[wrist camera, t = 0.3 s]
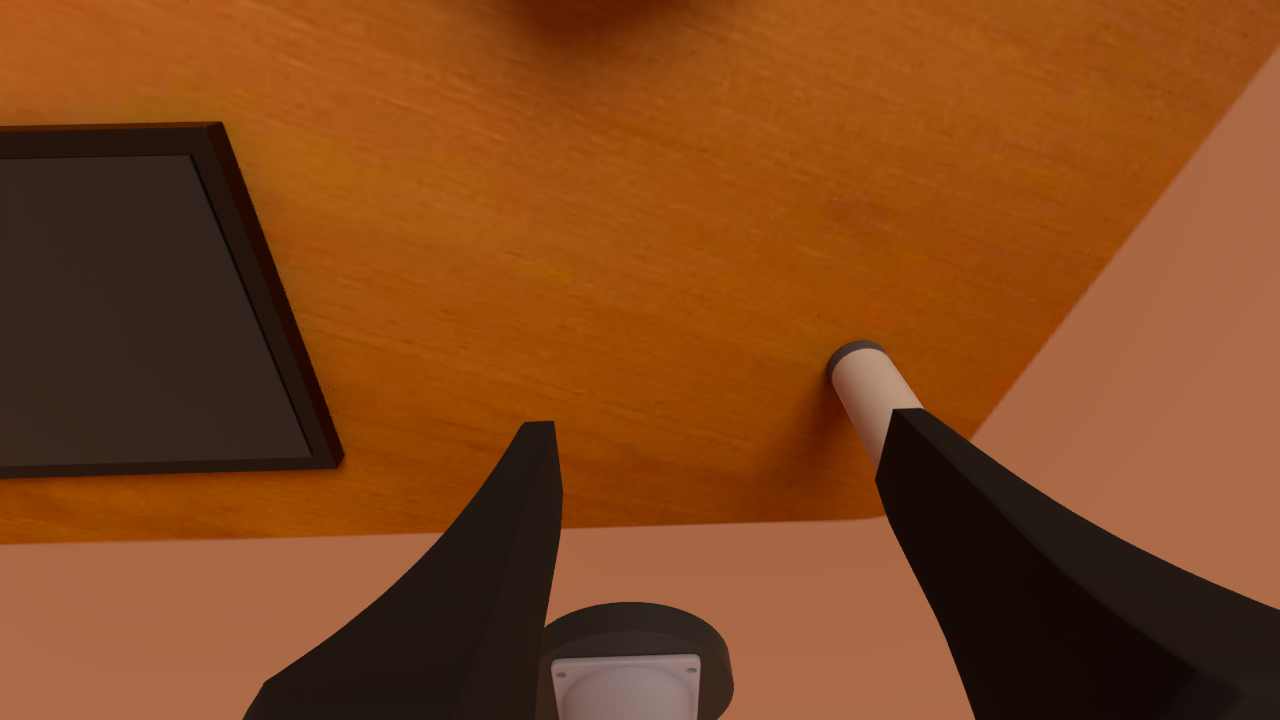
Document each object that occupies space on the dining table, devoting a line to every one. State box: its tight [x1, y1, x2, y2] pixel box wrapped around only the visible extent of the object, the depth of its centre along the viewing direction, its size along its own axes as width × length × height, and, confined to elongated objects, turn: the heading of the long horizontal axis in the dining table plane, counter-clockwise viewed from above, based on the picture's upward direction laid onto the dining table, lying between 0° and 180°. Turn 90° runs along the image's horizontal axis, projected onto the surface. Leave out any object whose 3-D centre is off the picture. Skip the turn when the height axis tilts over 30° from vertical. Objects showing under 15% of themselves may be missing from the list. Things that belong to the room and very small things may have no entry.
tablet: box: [0, 121, 344, 479], centre depth 22 cm, size 14×20×1 cm
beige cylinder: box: [828, 341, 925, 470], centre depth 22 cm, size 2×2×7 cm
